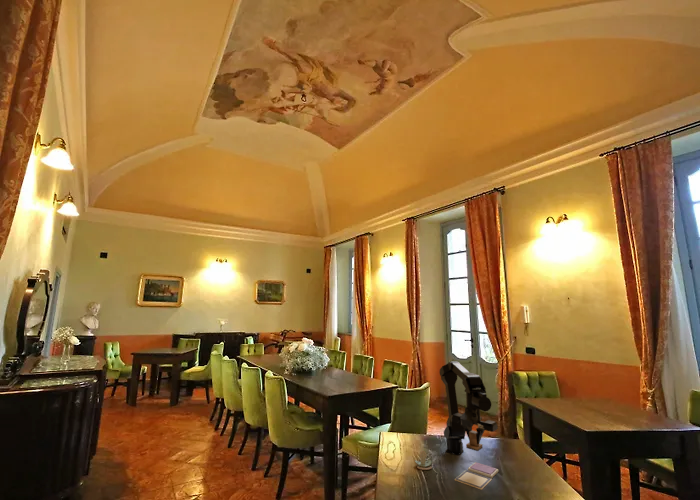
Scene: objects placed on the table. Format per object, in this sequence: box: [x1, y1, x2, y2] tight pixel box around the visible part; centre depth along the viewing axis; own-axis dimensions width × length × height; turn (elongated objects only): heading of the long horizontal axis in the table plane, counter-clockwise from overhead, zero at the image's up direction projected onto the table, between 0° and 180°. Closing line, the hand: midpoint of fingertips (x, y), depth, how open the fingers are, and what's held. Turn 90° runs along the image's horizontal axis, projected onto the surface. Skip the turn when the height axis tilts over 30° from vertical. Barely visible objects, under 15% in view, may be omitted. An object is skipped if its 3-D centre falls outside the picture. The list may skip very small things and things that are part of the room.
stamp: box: [465, 429, 483, 452], centre depth 153 cm, size 5×5×6 cm
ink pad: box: [467, 461, 499, 479], centre depth 151 cm, size 10×8×1 cm
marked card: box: [454, 469, 492, 491], centre depth 143 cm, size 11×11×1 cm
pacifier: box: [414, 450, 433, 471], centre depth 154 cm, size 7×6×6 cm
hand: (474, 442), depth 153 cm, fingers closed on stamp, 3 cm apart
